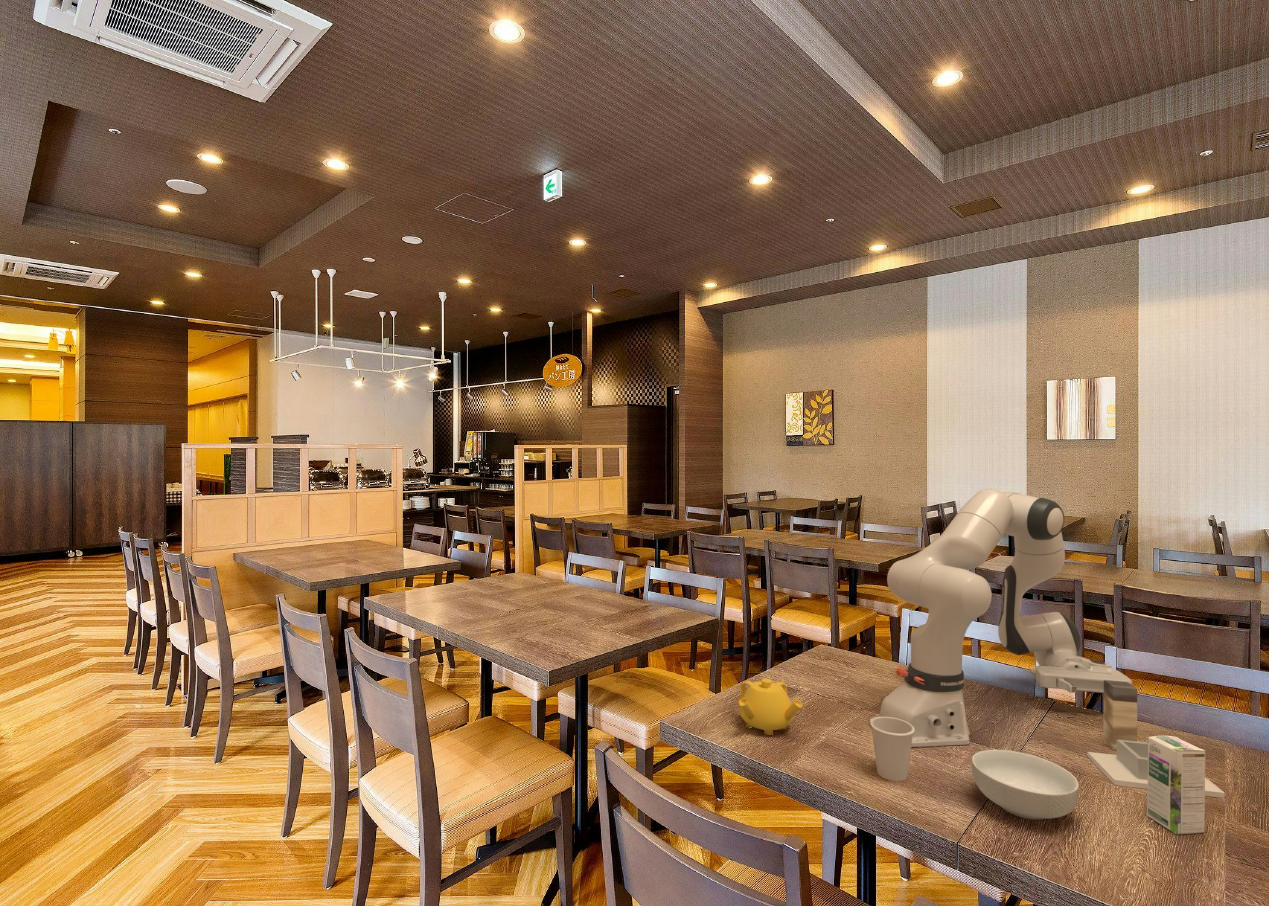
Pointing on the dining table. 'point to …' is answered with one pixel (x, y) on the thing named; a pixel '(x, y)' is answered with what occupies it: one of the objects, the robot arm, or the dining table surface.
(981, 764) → the cereal bowl
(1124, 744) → the caddy
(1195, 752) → the syrup box
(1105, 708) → the tool handle
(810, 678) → the dining table surface
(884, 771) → the dixie cup
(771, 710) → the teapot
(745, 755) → the dining table surface
